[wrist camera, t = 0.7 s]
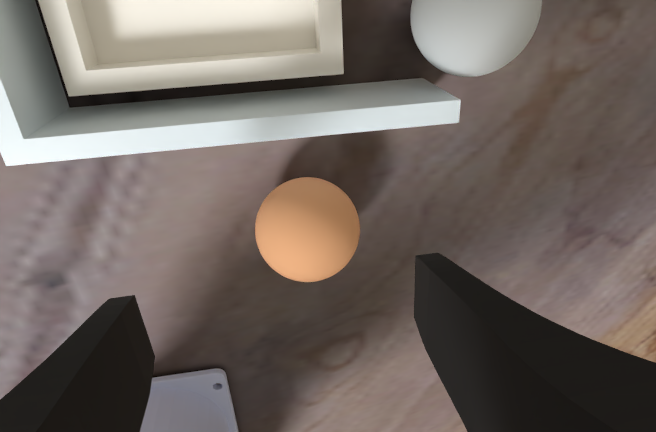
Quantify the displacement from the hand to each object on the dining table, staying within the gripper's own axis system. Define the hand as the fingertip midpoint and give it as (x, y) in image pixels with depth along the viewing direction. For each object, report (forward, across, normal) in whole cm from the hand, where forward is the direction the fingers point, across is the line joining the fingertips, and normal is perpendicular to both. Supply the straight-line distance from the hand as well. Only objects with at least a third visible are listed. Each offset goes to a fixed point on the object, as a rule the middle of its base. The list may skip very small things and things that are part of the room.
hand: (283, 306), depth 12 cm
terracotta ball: (+9, -1, +2) cm, 10 cm away
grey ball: (+9, -8, -6) cm, 14 cm away
